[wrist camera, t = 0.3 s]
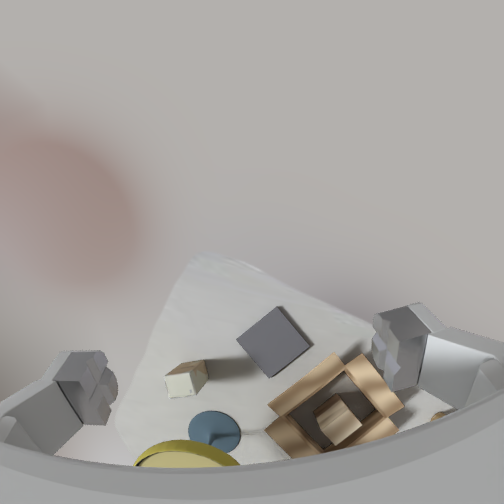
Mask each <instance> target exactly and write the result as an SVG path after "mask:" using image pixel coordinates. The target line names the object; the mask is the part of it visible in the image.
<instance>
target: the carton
mask: <svg viewBox="0 0 504 504" xmlns="http://www.w3.org/2000/svg"><path fill="white" fill-rule="evenodd" d="M342 371H344V372H345V373H346V374H347V375H348V377H349V378H350V379H351V380H352V381H353V383H354V384H355V385H356V386H357V387H358V388H359V390H360V391H361V392H362V393H363V394H364V396H365V397H366V398H367V399H368V400H369V402H370V403H371V404H372V405H373V406H374V408H375V409H376V410H374V411H373V412H372V413H371V414H370V415H368V416H367V417H366V418H365V419H364V420H362V421H361V422H360V423H361V424H362V426H360V427H359V428H358V429H357V430H355V431H354V432H353V433H352V434H350V435H349V436H348V437H346V438H345V439H344V440H342V441H341V442H340V443H338V444H337V445H336V446H335V445H334V443H333V444H331V445H330V446H329V447H327V448H326V449H325V450H323V449H322V448H321V447H320V446H319V445H318V444H317V443H316V442H315V441H314V440H313V439H312V438H311V437H310V436H309V435H308V433H307V432H306V431H305V430H304V429H303V428H302V427H301V426H300V425H299V424H298V423H297V422H296V421H295V420H294V419H293V418H292V417H291V416H290V414H289V413H290V412H292V411H293V410H294V409H296V408H297V407H298V406H300V405H301V404H302V403H304V402H305V401H306V400H308V399H309V398H310V397H311V396H313V395H314V394H315V393H317V392H318V391H319V390H320V389H322V388H323V387H324V386H325V385H327V384H328V383H329V382H330V381H331V380H333V379H334V378H335V377H336V376H337V375H339V374H340V373H341V372H342ZM267 405H268V406H269V407H270V408H271V409H272V410H273V411H275V412H276V413H277V414H278V415H279V417H278V418H277V419H276V420H275V421H274V422H273V423H272V424H270V425H269V426H268V427H267V428H266V429H265V430H264V431H265V432H266V433H267V434H268V435H269V436H270V437H271V438H272V439H273V440H274V441H275V442H276V443H277V444H278V445H279V446H280V447H281V448H282V449H283V450H284V451H285V452H286V453H287V454H288V455H289V456H290V457H291V458H292V459H294V458H300V457H306V456H311V455H317V454H322V453H326V452H331V451H335V450H340V449H344V448H348V447H352V446H356V445H360V444H364V443H367V442H371V441H374V440H378V439H381V438H384V437H388V436H391V435H394V434H395V433H396V432H398V431H399V429H398V428H397V427H396V426H395V425H394V424H393V422H392V421H391V420H390V419H389V418H388V417H389V416H390V415H392V414H394V413H395V412H397V411H398V410H400V409H401V408H403V407H405V406H404V405H403V403H402V402H401V401H400V400H399V398H398V397H397V396H396V394H395V393H394V392H391V391H390V389H389V387H388V385H387V383H386V382H385V381H384V379H383V378H382V377H381V376H380V374H379V373H378V372H377V371H376V369H375V368H374V367H373V366H372V364H371V363H370V362H369V361H368V359H367V358H366V357H365V356H364V354H363V353H361V354H360V355H359V356H357V357H356V358H354V359H353V360H351V361H350V362H349V363H347V364H346V365H344V364H343V362H342V361H341V360H340V359H339V357H338V356H337V355H336V354H335V352H333V353H332V354H331V355H330V356H328V357H327V358H326V359H325V360H324V361H322V362H321V363H320V364H319V365H318V366H316V367H315V368H314V369H313V370H311V371H310V372H309V373H308V374H307V375H305V376H304V377H303V378H301V379H300V380H299V381H298V382H296V383H295V384H294V385H293V386H291V387H290V388H289V389H287V390H286V391H285V392H283V393H282V394H281V395H279V396H278V397H277V398H275V399H274V400H273V401H271V402H270V403H268V404H267Z"/></svg>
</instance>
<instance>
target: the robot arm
mask: <svg viewBox="0 0 504 504" xmlns="http://www.w3.org/2000/svg"><path fill="white" fill-rule="evenodd" d="M373 328H374V329H375V331H376V334H375V335H374V336H373V338H372V355H373V359H374V361H375V364H376V366H377V367H378V368H379V369H381V370H383V371H384V375H383V378H384V380H385V382H386V383H387V385H388V387H389V389H390V391H391V392H395V391H398V390H402V389H405V388H409V387H412V386H416V385H418V387H420V388H421V389H423V390H425V391H427V392H428V393H430V394H432V395H433V396H435V397H437V398H439V399H440V400H442V401H444V402H445V403H447V404H449V405H451V406H452V407H454V408H456V409H458V410H457V411H455V412H453V413H450V414H448V415H445V416H443V417H441V418H438V419H436V420H433V421H431V422H428V423H425V424H423V425H420V426H417V427H415V428H412V429H409V430H406V431H403V432H400V433H397V434H394V435H391V436H388V437H384V438H381V439H378V440H374V441H371V442H367V443H364V444H360V445H356V446H352V447H348V448H344V449H340V450H335V451H331V452H326V453H322V454H317V455H311V456H306V457H300V458H294V459H288V460H282V461H274V462H267V463H258V464H249V465H238V466H224V467H201V468H161V467H140V466H126V465H115V464H105V463H98V462H90V461H83V460H77V459H71V458H65V457H60V456H55V455H54V454H55V453H56V452H57V451H58V450H59V449H60V448H61V447H62V446H63V445H64V444H65V443H66V442H67V441H68V440H69V439H70V438H71V437H72V436H73V435H74V434H75V433H76V432H77V431H78V430H80V429H81V428H82V427H83V424H85V425H106V423H107V421H108V418H109V415H110V413H111V408H110V406H109V405H110V404H112V403H113V402H114V401H115V400H116V397H117V395H118V384H117V379H116V377H115V375H114V373H113V372H112V371H111V370H110V369H108V368H107V364H108V360H107V358H106V356H105V354H104V353H103V352H102V351H100V350H97V351H95V350H94V351H92V350H91V351H62V352H60V353H59V354H58V355H57V357H56V358H55V360H54V361H53V362H52V364H51V365H50V367H49V368H48V369H47V371H46V372H45V374H44V375H43V377H42V378H41V380H36V381H34V382H33V383H31V384H29V385H28V386H26V387H25V388H23V389H21V390H20V391H18V392H17V393H15V394H13V395H12V396H10V397H8V398H7V399H5V400H3V401H2V402H0V504H504V343H503V342H500V341H496V340H493V339H490V338H487V337H483V336H480V335H477V334H474V333H470V332H467V331H464V330H460V329H457V328H454V327H449V328H447V327H446V326H445V325H444V324H443V323H442V322H441V321H440V320H439V319H438V318H437V317H436V316H435V315H434V314H433V313H432V312H431V311H430V310H429V309H428V308H427V307H426V306H425V305H424V304H423V303H420V302H418V303H414V304H410V305H407V306H404V307H401V308H397V309H393V310H389V311H385V312H381V313H377V314H374V318H373Z"/></svg>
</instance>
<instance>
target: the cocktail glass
mask: <svg viewBox="0 0 504 504" xmlns="http://www.w3.org/2000/svg"><path fill="white" fill-rule="evenodd" d="M188 433H189V437H190V440H171V441H166V442H162V443H159V444H156V445H154V446H152V447H151V448H149V449H147V450H146V451H145V452H144V453H143V454H141V455H140V456H139V457H138V459H137V460H136V462H135V464H134V465H133V466H140V467H161V468H201V467H224V466H238V465H240V464H239V463H238V462H237V461H236V460H235V459H234V458H232V457H231V456H230V455H228V454H227V453H228V452H230V451H232V450H233V449H234V448H235V447H236V446H237V444H238V442H239V438H240V432H239V428H238V426H237V424H236V423H235V422H234V420H233V419H231V418H230V417H229V416H227V415H225V414H223V413H220V412H216V411H206V412H202V413H200V414H198V415H196V416H195V417H194V418H193V419H192V421H191V422H190V424H189V428H188Z"/></svg>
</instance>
